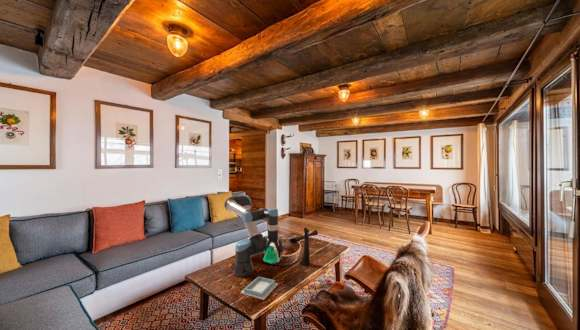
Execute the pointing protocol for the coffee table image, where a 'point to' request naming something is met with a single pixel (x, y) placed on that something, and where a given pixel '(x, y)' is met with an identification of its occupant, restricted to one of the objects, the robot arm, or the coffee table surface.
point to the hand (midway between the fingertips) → (272, 260)
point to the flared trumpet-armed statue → (305, 245)
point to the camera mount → (270, 255)
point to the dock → (260, 288)
